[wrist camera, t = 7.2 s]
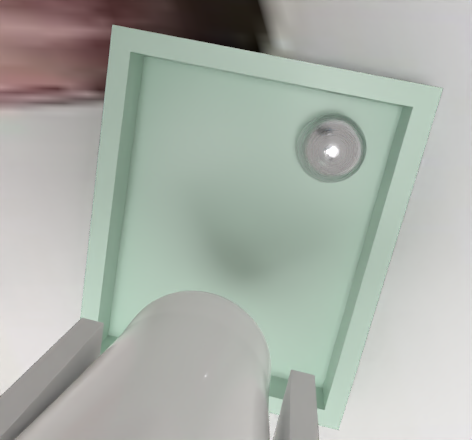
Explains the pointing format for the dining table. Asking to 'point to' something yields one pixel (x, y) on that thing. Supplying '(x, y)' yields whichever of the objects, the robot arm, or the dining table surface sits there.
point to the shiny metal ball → (331, 148)
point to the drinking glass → (170, 379)
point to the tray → (249, 198)
